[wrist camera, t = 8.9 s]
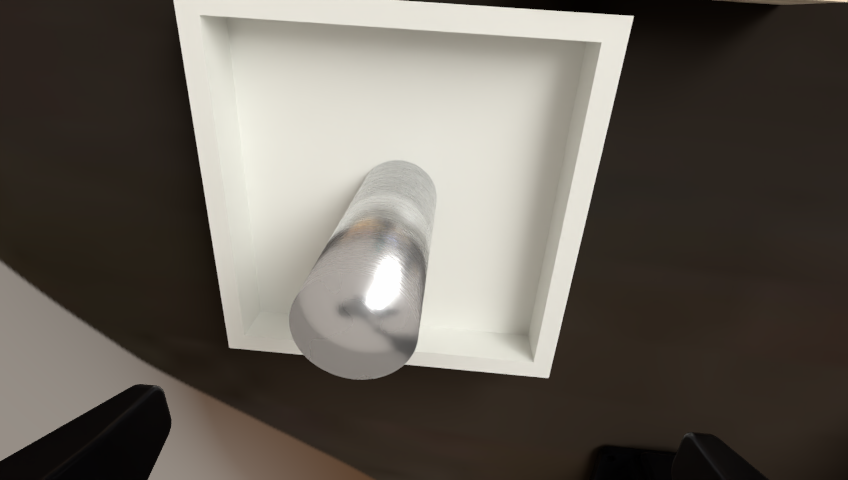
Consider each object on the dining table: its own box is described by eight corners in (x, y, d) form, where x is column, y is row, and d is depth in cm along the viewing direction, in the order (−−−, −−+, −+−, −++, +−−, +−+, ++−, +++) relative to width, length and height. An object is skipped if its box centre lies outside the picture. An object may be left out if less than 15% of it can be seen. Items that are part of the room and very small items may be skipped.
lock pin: (433, 234, 20) (414, 385, 12) (361, 228, 20) (293, 372, 12) (439, 163, 18) (422, 280, 10) (361, 157, 19) (284, 267, 11)
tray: (539, 342, 23) (548, 378, 20) (251, 316, 23) (229, 347, 21) (610, 16, 16) (634, 16, 14) (209, -11, 17) (171, -15, 15)
